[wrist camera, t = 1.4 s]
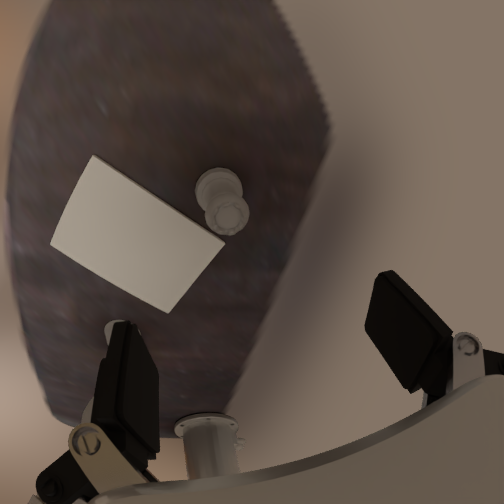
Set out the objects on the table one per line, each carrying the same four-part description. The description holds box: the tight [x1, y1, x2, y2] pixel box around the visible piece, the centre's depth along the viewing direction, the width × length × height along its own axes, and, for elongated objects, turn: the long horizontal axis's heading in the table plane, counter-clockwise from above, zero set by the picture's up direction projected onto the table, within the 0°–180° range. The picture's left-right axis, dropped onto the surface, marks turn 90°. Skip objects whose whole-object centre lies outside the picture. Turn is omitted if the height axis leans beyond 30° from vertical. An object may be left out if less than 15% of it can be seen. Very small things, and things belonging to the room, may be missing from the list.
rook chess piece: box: [195, 167, 250, 236], centre depth 23 cm, size 4×4×8 cm
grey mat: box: [50, 155, 225, 313], centre depth 27 cm, size 16×11×1 cm
